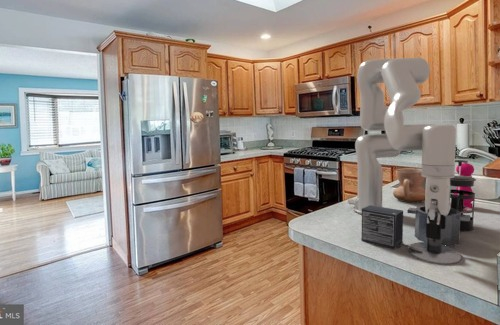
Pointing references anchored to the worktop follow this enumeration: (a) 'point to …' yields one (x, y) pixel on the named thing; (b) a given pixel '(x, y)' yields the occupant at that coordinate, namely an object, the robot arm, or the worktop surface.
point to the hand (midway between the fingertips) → (436, 233)
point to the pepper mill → (465, 171)
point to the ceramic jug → (410, 185)
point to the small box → (382, 226)
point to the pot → (448, 234)
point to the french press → (462, 197)
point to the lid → (434, 252)
